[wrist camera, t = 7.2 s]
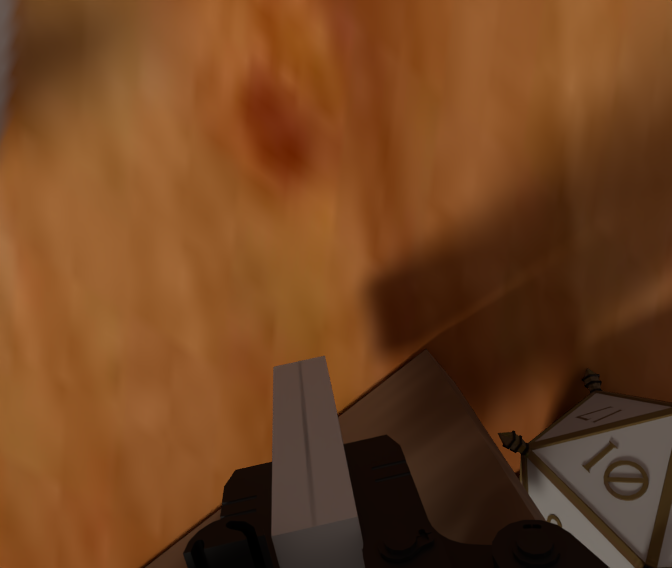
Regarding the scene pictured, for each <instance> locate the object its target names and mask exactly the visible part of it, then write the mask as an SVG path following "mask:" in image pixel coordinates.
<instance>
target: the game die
mask: <svg viewBox="0 0 672 568" xmlns="http://www.w3.org/2000/svg"><path fill="white" fill-rule="evenodd" d="M599 376H600V375H599V374H596V373H594V372H593V371H591V370H590V369H588V368H587V370H586V373H585V376H584V378H583V379H582V381H584V382H585V384H586V385H585V387H586V388H588V389H589V390H590V394H589V395H588V396H587V397H586V398H584V399H583V400H582V401H580V402H579V403H578V404H577V405H575V406H574V407H573V408H572V409H570V410H569V411H568V412H567V413H565V414H564V415H563V416H562V417H560V418H559V419H558V420H556V421H555V422H554V423H553V424H551V425H550V426H549V427H548V428H546V429H545V430H544V431H543V432H541V433H540V434H539V435H538V436H536V437H535V438H534V439H533V440H531V441H530V442H529V443H525V442H524V440H523V439H522V436H521V435H520V436H518V435H516V434H515V431H512V432H507V433H498V435H499V437H500V439H501V441H502V443H503V447H505V448H507V449H509V448H510V450H511V451H513V452H515V453H516V452H520V454H521V464H520V482H521V483H522V485H523V486H524V488H525V489H526V491H527V492H528V494H529V496H530V497H531V499H532V500H533V502H534V503H535V505H536V506H537V508H538V509H539V511H540V512H541V514H542V515H543V517H544V518H545V520H546V521H547V522H550V523H553V524H557V525H558V526H560V527H562V528H563V529H565V530H566V531H568V532H570V533H571V534H572V535H573V536H574V537H575V538H577V539H578V540H579V541H580V542H581V543H582V544H583V545H585V546H586V547H587V548H588V549H589V550H590V551H591V552H593V553H594V554H595V555H596V556H597V557H598V558H599V559H601V560H602V561H603V562H604V563H605V564H606V565H607V566H609V567H610V568H672V403H671V402H665V401H660V400H654V399H648V398H642V397H636V396H630V395H624V394H619V393H613V392H607V391H602V390H601V389H600V386H601V381H599Z"/></svg>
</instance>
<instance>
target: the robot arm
mask: <svg viewBox="0 0 672 568" xmlns="http://www.w3.org/2000/svg"><path fill="white" fill-rule="evenodd" d="M183 556H184V559H185V562H186V565H187V568H610V567H609V566H607V565H606V564H605V563H604V562H603V561H602V560H601V559H599V558H598V557H597V556H596V555H595V554H594V553H593V552H591V551H590V550H589V549H588V548H587V547H586V546H585V545H583V544H582V543H581V542H580V541H579V540H578V539H577V538H575V537H574V536H573V535H572V534H571V533H570V532H568V531H566V530H565V529H563V528H562V527H560V526H558V525H557V524H553V523H550V522H546V521H543V520H521V521H517V522H514V523H510V524H508V525H507V526H505V527H504V528H502V529H501V530H499V531H498V533H497V534H496V536H495V538H494V540H493V541H492V545H479V544H466V543H460V542H456V541H453V540H450V539H448V538H446V537H444V536H443V535H441V534H439V533H438V532H437V531H436V530H435V529H434V527H432V525H431V523H430V522H429V520H428V517H427V514H426V512H425V509H424V507H423V504H422V501H421V499H420V496H419V493H418V491H417V488H416V485H415V483H414V480H413V477H412V475H411V473H410V470H409V467H408V464H407V463H406V459H405V456H404V454H403V451H402V448H401V446H400V444H398V443H397V442H396V441H394V440H393V439H392V438H390V437H389V436H388V435H387V434H386V435H382V436H377V437H373V438H368V439H364V440H359V441H355V442H351V443H346V444H344V443H343V438H342V433H341V429H340V424H339V419H338V415H337V410H336V405H335V401H334V396H333V391H332V387H331V382H330V377H329V373H328V368H327V363H326V359H325V356H321V357H317V358H312V359H307V360H303V361H298V362H294V363H289V364H284V365H280V366H275V367H273V446H272V462H269V463H264V464H260V465H256V466H251V467H247V468H242V469H238V470H235V472H234V473H233V474H232V476H231V477H230V479H229V480H228V482H227V483H226V485H225V486H224V492H223V499H222V506H221V513H220V519H219V520H217V521H214V522H212V523H210V524H208V525H207V526H205V527H204V528H202V529H201V530H199V531H198V532H197V533H196V534H195V535H194V536H193V537H192V538H191V539H190V540H189V542H188V544H187V546H186V548H185V550H184V552H183Z"/></svg>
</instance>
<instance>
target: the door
mask: <svg viewBox="0 0 672 568" xmlns="http://www.w3.org/2000/svg"><path fill="white" fill-rule="evenodd" d="M338 419H339V424H340V429H341V433H342V438H343V443H344V444H346V443H351V442H355V441H359V440H364V439H368V438H373V437H377V436H382V435H386V434H387V435H388V436H389V437H390V438H392V439H393V440H394V441H396V442H397V443H398V444H400V446H401V448H402V451H403V454H404V456H405V459H406V463H407V464H408V467H409V470H410V473H411V475H412V477H413V480H414V483H415V485H416V488H417V491H418V493H419V496H420V499H421V501H422V504H423V507H424V509H425V512H426V514H427V517H428V520H429V522H430V523H431V525H432V527H434V529H435V530H436V531H437V532H438V533H439V534H441V535H443V536H444V537H446V538H448V539H450V540H453V541H456V542H460V543H466V544H479V545H492V541H493V540H494V538H495V536H496V534H497V533H498V531H499V530H501V529H502V528H504V527H505V526H507V525H508V524H510V523H514V522H517V521H521V520H543V521H546V520H545V518H544V517H543V515H542V514H541V512H540V511H539V509H538V508H537V506H536V505H535V503H534V502H533V500H532V499H531V497H530V496H529V494H528V492H527V491H526V489H525V488H524V486H523V485H522V483H521V482H520V480H519V479H518V477H517V476H516V474H515V473H514V471H513V470H512V468H511V467H510V465H509V464H508V462H507V461H506V459H505V458H504V456H503V455H502V453H501V452H500V450H499V449H498V447H497V446H496V444H495V443H494V441H493V440H492V438H491V437H490V435H489V434H488V432H487V431H486V429H485V428H484V426H483V425H482V423H481V422H480V420H479V419H478V417H477V416H476V414H475V412H474V411H473V409H472V408H471V406H470V405H469V403H468V402H467V400H466V399H465V397H464V396H463V394H462V393H461V391H460V390H459V388H458V387H457V385H456V384H455V382H454V381H453V380H452V379H451V378H450V376H449V375H448V374H447V373H446V372H445V370H444V369H443V368H442V367H441V366H440V364H439V363H438V362H437V361H436V360H435V358H434V357H433V356H432V355H431V354H430V353H429V351H428V350H427V349H426V350H424V351H423V352H422V353H420V354H419V355H418V356H417V357H415V358H414V359H413V360H411V361H410V362H409V363H408V364H406V365H405V366H404V367H402V368H401V369H400V370H399V371H397V372H396V373H395V374H393V375H392V376H391V377H390V378H388V379H387V380H386V381H384V382H383V383H382V384H381V385H379V386H378V387H377V388H375V389H374V390H373V391H372V392H370V393H369V394H368V395H366V396H365V397H364V398H363V399H361V400H360V401H359V402H357V403H356V404H355V405H354V406H352V407H351V408H350V409H348V410H347V411H346V412H345V413H343V414H342V415H341V416H339V417H338ZM220 513H221V509H220V510H218V511H217V512H216V513H215V514H213V515H212V516H211V517H209V518H208V519H207V520H206V521H204V522H203V523H202V524H200V525H199V526H198V527H197V528H195V529H194V530H193V531H191V532H190V533H189V534H188V535H186V536H185V537H184V538H182V539H181V540H180V541H179V542H177V543H176V544H175V545H173V546H172V547H171V548H170V549H168V550H167V551H166V552H164V553H163V554H162V555H161V556H159V557H158V558H157V559H155V560H154V561H153V562H152V563H150V564H149V565H148V566H146V567H145V568H187V565H186V562H185V559H184V556H183V552H184V550H185V548H186V546H187V544H188V542H189V540H190V539H191V538H192V537H193V536H194V535H195V534H196V533H197V532H198V531H199V530H201V529H202V528H204V527H205V526H207V525H208V524H210V523H212V522H214V521H217V520H219V519H220ZM546 522H547V521H546Z"/></svg>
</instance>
